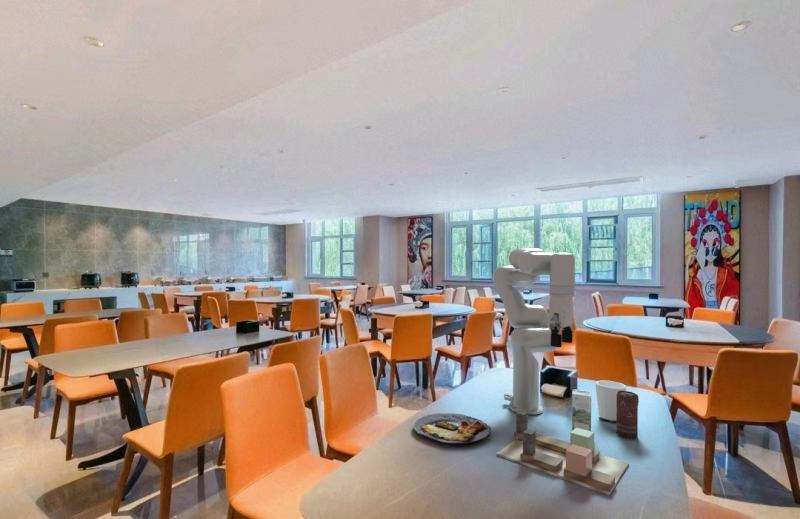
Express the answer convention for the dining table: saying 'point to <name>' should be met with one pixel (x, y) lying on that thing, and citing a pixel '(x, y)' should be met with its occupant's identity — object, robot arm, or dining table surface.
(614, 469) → the board
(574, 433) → the cube
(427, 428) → the food plate
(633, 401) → the can
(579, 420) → the syrup box
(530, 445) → the strip piece
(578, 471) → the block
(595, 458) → the strip
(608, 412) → the cup
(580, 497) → the dining table surface
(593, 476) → the strip piece
